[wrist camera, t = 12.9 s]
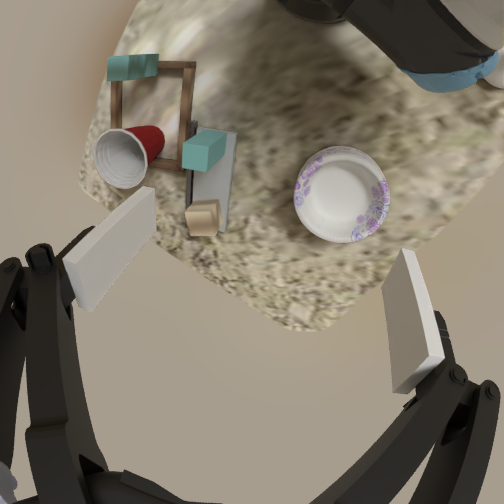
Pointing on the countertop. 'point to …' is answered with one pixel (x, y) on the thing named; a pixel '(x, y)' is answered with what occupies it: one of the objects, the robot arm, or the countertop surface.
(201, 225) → the beech cube
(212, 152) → the sled
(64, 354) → the robot arm
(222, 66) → the countertop surface
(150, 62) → the frame
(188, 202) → the divider rail
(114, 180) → the plastic cup
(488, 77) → the flower in vase
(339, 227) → the paper bowls
